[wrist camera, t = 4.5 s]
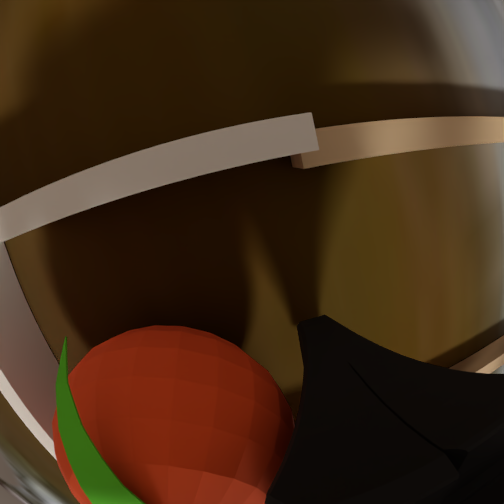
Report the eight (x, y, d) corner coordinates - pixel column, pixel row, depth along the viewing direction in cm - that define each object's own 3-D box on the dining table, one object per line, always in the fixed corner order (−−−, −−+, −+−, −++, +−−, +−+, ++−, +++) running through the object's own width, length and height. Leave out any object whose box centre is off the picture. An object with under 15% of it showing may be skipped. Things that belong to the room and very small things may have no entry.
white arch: (280, 125, 9) (311, 112, 6) (328, 434, 13) (347, 480, 10) (-17, 223, 8) (-68, 246, 5) (121, 468, 12) (114, 512, 9)
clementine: (44, 295, 9) (-71, 431, 2) (221, 220, 9) (248, 392, 2) (149, 440, 12) (135, 575, 5) (294, 401, 12) (346, 550, 5)
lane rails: (518, 118, 9) (536, 119, 8) (504, 345, 13) (516, 354, 12) (285, 134, 9) (296, 131, 8) (330, 430, 13) (337, 448, 12)
